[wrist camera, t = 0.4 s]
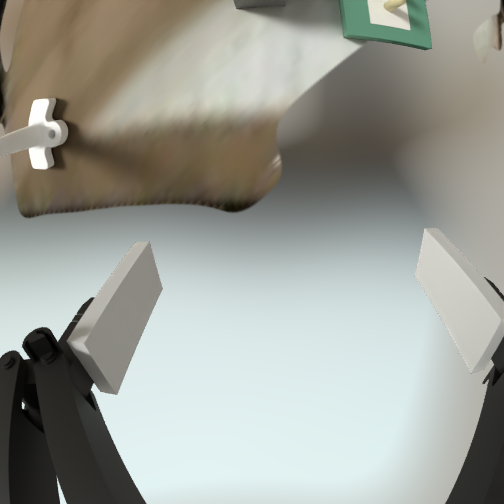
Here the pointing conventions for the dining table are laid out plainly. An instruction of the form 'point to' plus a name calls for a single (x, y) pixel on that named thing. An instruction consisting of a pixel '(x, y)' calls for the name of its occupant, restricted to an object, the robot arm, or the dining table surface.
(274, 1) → the block
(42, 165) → the joystick
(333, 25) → the dining table surface
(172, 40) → the dining table surface
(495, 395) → the robot arm
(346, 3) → the board
